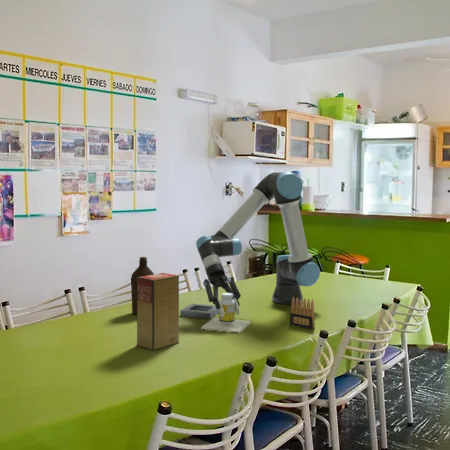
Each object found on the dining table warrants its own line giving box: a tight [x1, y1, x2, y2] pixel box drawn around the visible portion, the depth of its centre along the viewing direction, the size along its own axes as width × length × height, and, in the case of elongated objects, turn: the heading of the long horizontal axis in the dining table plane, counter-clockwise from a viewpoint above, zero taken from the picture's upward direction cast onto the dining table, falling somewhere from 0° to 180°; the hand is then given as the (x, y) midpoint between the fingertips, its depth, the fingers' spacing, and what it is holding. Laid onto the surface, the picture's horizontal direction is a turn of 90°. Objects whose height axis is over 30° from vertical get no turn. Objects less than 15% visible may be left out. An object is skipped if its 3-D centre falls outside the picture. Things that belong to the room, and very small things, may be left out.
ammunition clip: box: [289, 297, 316, 330], centre depth 230 cm, size 11×2×12 cm, turn 54°
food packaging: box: [136, 272, 180, 351], centre depth 202 cm, size 13×9×25 cm
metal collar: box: [179, 303, 219, 320], centre depth 249 cm, size 14×14×2 cm
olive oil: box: [130, 256, 155, 316], centre depth 247 cm, size 11×11×25 cm
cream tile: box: [201, 317, 252, 334], centre depth 229 cm, size 16×16×1 cm
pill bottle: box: [218, 292, 236, 324], centre depth 229 cm, size 6×6×12 cm
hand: (231, 314), depth 226 cm, fingers closed on pill bottle, 6 cm apart
